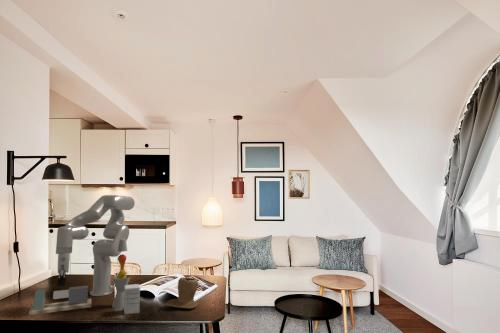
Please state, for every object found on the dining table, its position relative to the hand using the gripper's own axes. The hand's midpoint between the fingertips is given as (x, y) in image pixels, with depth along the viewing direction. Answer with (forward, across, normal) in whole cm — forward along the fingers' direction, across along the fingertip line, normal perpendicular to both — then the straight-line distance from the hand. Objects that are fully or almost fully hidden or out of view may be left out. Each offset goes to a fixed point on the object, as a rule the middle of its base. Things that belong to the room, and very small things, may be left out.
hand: (61, 283), depth 177 cm
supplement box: (+12, -20, -33) cm, 40 cm away
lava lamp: (+12, -8, -29) cm, 32 cm away
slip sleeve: (+11, +1, -8) cm, 14 cm away
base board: (+12, +1, -1) cm, 13 cm away
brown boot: (+12, -24, -59) cm, 65 cm away
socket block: (+11, +1, +9) cm, 15 cm away
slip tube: (+7, +1, -5) cm, 8 cm away
